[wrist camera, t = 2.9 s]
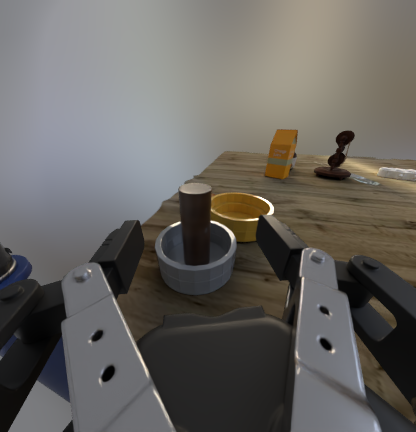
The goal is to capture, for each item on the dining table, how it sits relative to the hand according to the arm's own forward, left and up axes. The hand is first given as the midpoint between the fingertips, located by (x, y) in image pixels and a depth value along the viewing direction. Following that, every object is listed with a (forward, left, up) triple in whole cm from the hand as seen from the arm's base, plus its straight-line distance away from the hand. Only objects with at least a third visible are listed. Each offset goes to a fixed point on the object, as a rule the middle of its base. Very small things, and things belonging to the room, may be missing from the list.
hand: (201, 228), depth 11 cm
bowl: (+22, +11, -14) cm, 29 cm away
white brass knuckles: (+117, -21, -15) cm, 120 cm away
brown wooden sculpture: (+92, +4, -15) cm, 93 cm away
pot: (+7, +9, -14) cm, 18 cm away
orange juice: (+73, +23, -15) cm, 78 cm away
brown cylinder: (+7, +9, -14) cm, 18 cm away
